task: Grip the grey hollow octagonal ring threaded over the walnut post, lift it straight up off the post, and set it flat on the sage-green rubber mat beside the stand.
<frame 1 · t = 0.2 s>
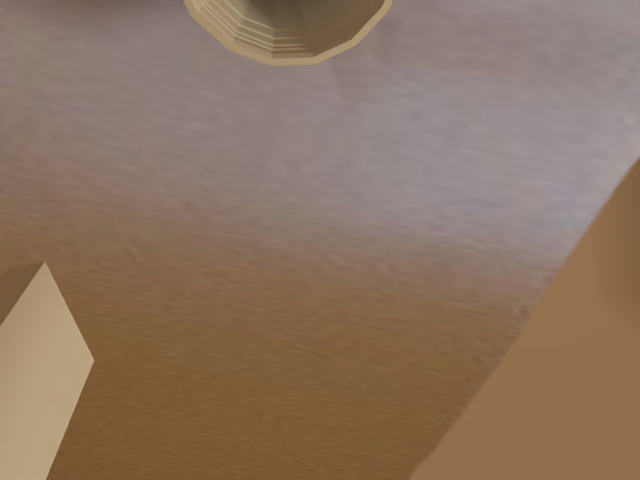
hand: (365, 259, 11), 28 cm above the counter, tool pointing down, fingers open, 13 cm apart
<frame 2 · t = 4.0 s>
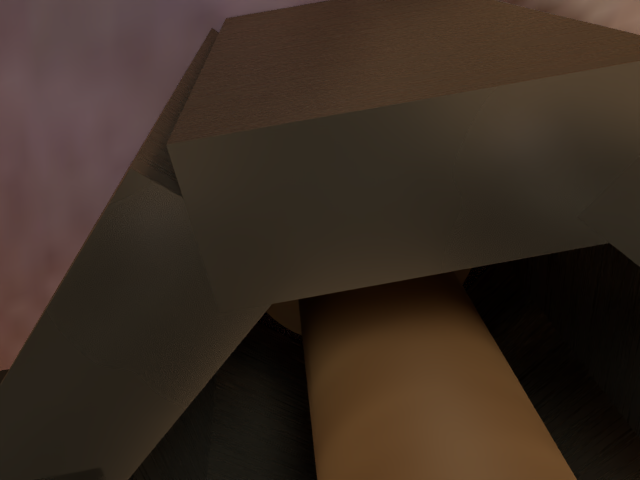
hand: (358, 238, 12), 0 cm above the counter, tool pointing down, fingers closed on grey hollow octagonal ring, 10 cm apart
grey hollow octagonal ring: (356, 231, 12), on the counter, touching gripper
walnut post: (355, 231, 12), on the counter
when the fingers open (2 cm above the counter, at t = 11.6 s): grey hollow octagonal ring drops 1 cm, resting on sage mat.
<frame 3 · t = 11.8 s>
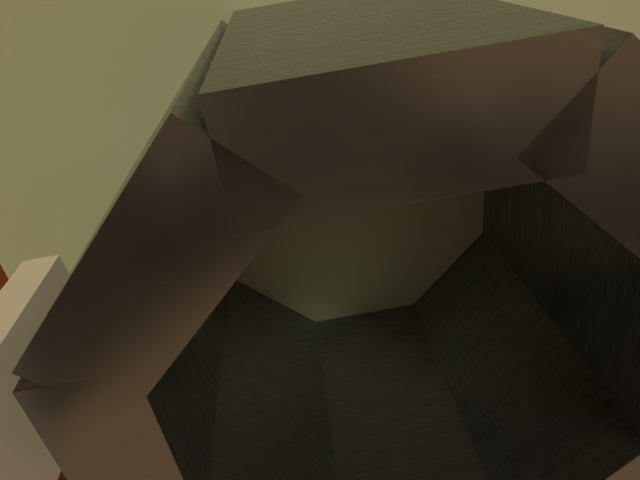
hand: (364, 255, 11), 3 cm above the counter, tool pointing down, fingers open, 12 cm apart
grey hollow octagonal ring: (350, 207, 13), point 1 cm above the counter, touching sage mat
sage mat: (344, 195, 14), on the counter
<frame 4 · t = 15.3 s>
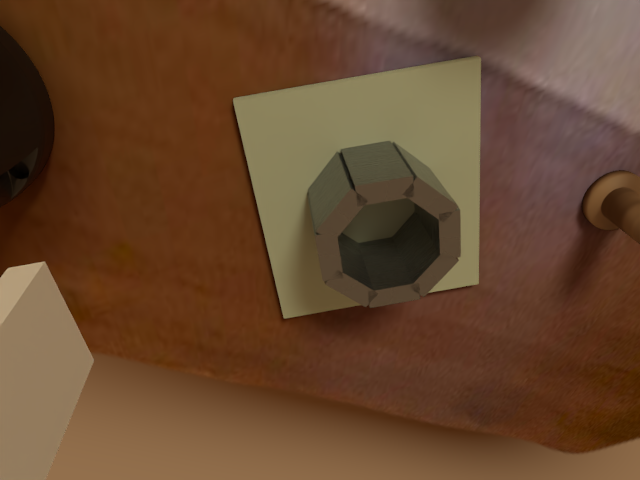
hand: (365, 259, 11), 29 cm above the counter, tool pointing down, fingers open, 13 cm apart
grey hollow octagonal ring: (371, 203, 42), point 1 cm above the counter, touching sage mat
sage mat: (369, 199, 43), on the counter
walnut post: (611, 198, 45), on the counter
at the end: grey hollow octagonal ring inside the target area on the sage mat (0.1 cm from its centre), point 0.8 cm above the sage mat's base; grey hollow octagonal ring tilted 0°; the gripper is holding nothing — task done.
